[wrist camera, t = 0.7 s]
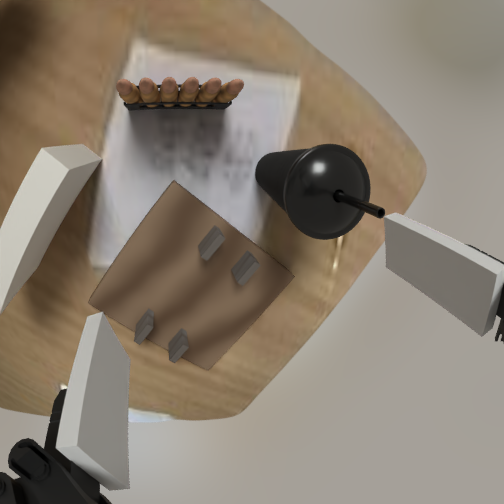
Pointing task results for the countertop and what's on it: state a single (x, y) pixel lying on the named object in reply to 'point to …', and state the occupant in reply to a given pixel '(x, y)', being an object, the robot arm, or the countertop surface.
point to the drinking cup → (319, 188)
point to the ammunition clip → (178, 94)
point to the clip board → (189, 280)
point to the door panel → (40, 212)
